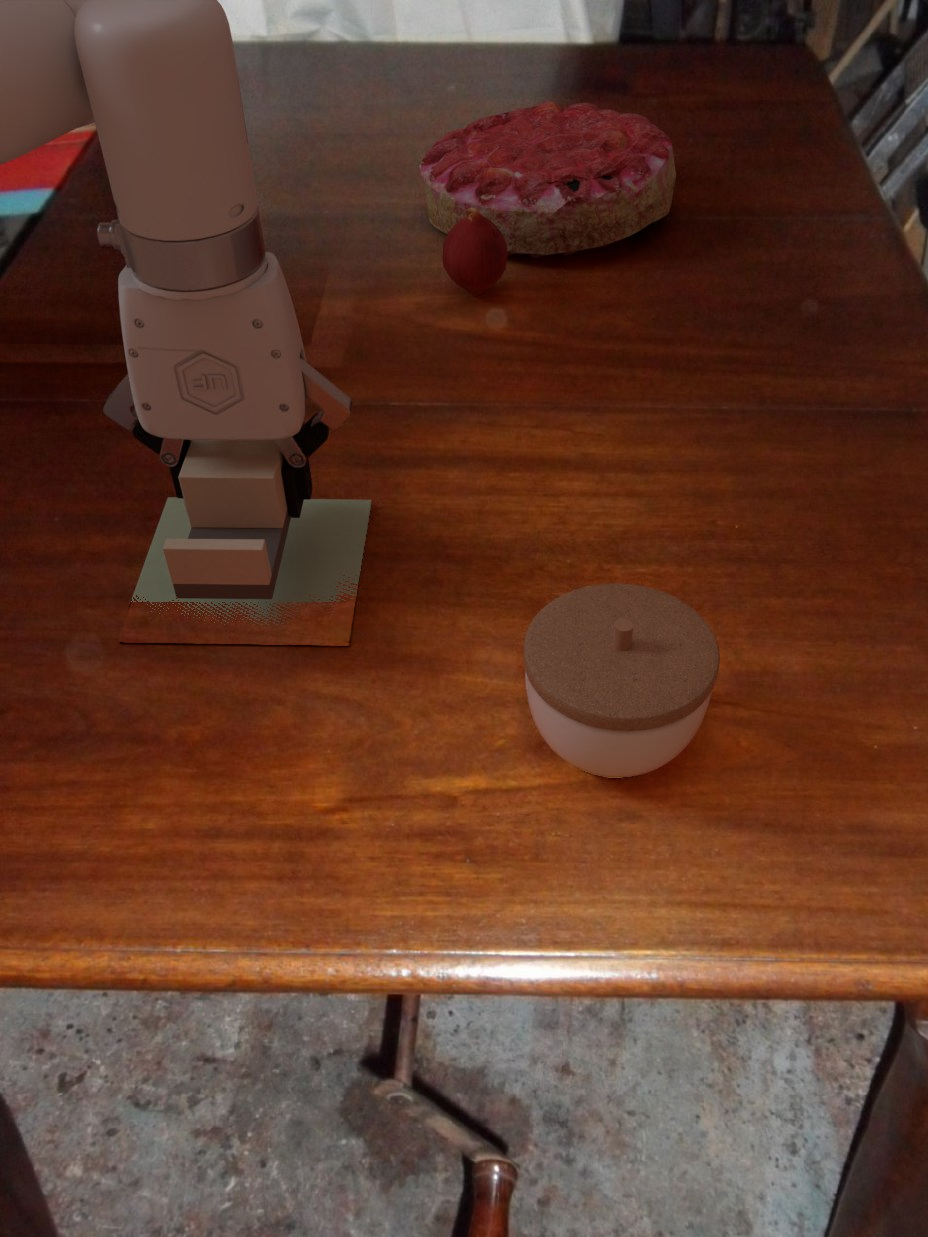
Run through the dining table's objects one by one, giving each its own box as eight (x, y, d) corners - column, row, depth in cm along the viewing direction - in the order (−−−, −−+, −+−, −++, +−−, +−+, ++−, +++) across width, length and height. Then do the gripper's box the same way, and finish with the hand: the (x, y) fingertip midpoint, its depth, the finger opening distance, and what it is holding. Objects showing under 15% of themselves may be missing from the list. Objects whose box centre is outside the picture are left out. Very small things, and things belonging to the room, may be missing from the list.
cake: (721, 233, 111) (727, 146, 106) (477, 288, 106) (470, 200, 101) (614, 152, 128) (614, 74, 123) (399, 197, 123) (390, 117, 118)
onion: (476, 272, 109) (475, 187, 103) (520, 293, 106) (521, 207, 100) (431, 294, 106) (427, 207, 100) (474, 316, 103) (473, 228, 97)
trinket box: (523, 811, 65) (526, 698, 58) (519, 675, 72) (521, 560, 65) (713, 810, 65) (739, 696, 58) (690, 674, 72) (710, 558, 65)
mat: (118, 643, 75) (117, 639, 74) (168, 501, 85) (167, 497, 85) (349, 647, 74) (348, 642, 74) (371, 503, 84) (371, 499, 84)
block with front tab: (272, 600, 71) (259, 533, 68) (176, 599, 72) (157, 532, 68) (305, 458, 82) (295, 393, 78) (221, 457, 82) (207, 393, 78)
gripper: (21, 276, 62) (106, 539, 75) (342, 277, 61) (370, 541, 74) (61, 214, 67) (133, 471, 80) (357, 214, 66) (381, 472, 80)
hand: (247, 502), depth 77 cm, fingers closed on block with front tab, 6 cm apart
